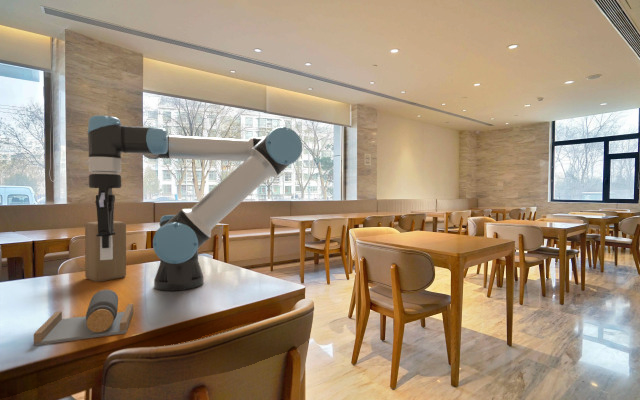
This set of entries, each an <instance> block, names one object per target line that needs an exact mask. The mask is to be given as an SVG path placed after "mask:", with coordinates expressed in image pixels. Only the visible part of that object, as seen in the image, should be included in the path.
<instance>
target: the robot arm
mask: <svg viewBox="0 0 640 400" xmlns="http://www.w3.org/2000/svg"><path fill="white" fill-rule="evenodd" d="M87 124H88V125H87V126H88V129H87V140H88V141H87V143H88V144H87V145H88V147H87V148H88V160H86V162H85V164H86V165H87V166H88V171H89V172H90V173H91V174H89V175H88V187H89V188H90V189H98V191H97V194H96V195H95V208H96V219H97V221H98V234H97V235H96V236H97V237H98V236H100V260H111V259H113V243H112V235H115V232H113V231H114V229H113V224H114V221H115V220H114V219H115V218H114V217H115V202H116V201H115V200H116V194H113V189H120V188H122V176H121V173H122V153H123V154H124V153H125V154H141V155H142V156H144V157H145V158H146V159H150V160H158V159H174V160H175V159H178V160H201V161H227V162H242V163H241V164H240V165H239V166H238V167H236V168H235V169H234V170H233V171H232V172H231V173H229V175H227V176H226V177H225V178H224V179H223V180H222V181H221V182H219V184H217V185H216V186H215V187H214V188H213V189H211V191H209V192H208V193H207V194H205V195H204V197H202V198H201V199H200V200H199V201H198V202H197V203H195V204H194V205H193V206H192V207H191V208H182V209H181V210H180V211H178V212H177V213H176V214H168V215H163V216H161V217H160V219H159V228H158V229H157V230H156V231H155V233H154V236H153V239H152V247H153V250H154V253H155V255H156V256H157V258H159V259H160V260H159V265H158V268H157V271H156V274H155V277H154V280H153V288H154V289H155V290H158V291H166V292H167V291H169V292H170V291H171V292H172V291H173V292H174V291H185V290H190V289H195V288H198V287H200V286H202V285H203V284H204V278H205V277H204V273H203V271H202V268H201V265H200V261H199V248H201V246H203V245H204V244H205V243H206V242H207V241H208V240H209V239H210V238H211V237H212V230H213V229H214V228H215V226H216V225H218V224H219V223H220V222H221V221H222V220H224V219H225V218H226V217H227V215H229V214H230V213H231V212H232V211H234V209H235V208H237V206H239V205H240V204H241V203H242V202H243V201H245V199H246V198H248V196H249V195H251V194H252V193H253V192H254V191H255V190H256V189H257V188H258V187H259V186H260V185H262V184H263V183H264V182H265V181H266V180H267V179H268V178H270V177H275V178H277V176H279V175H280V174H281V173H282V172H283V171H284V170H286V168H288V166H290V165H292V164H294V163H296V161H298V159H299V158H300V156H301V154H302V153H303V142H302V139H301V138H300V135H299V134H298V133H297V132H296V131H295V130H294V129H292V128H290V127H286V126H281V127H280V126H278V127H275V128H272V129H271V130H270V131H269V132H268V134H267V135H265V136H258V137H255V136H251V137H249V138H248V139H243V138H242V139H240V138H238V139H237V138H236V139H235V138H222V137H221V138H220V137H206V136H204V137H203V136H190V135H189V136H186V135H184V136H183V135H173V134H170V135H168V131H167V129H166V128H163V127H156V126H152V127H151V126H135V125H133V126H132V125H123V124H122V122H121V120H120V118H118V117H114V116H109V115H93V116H90V117H89V119H88V123H87Z"/></svg>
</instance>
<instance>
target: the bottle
mask: <svg viewBox="0 0 640 400" xmlns="http://www.w3.org/2000/svg"><path fill="white" fill-rule="evenodd" d="M89 301H90V302H89V305H88V307H87V310H86V314H85V316H86V320H87V327H88V328H89V329H90V330H91V331H93V332H103V331H105V330H107V329H108V328H109V327H110V326H111V325H112V323H113V321H114V319H115V318H116V315H117V313H118V310H119V309H118V307H119V306H118V305H119V297H118V294H117V292H115V291H114V290H111V289H101V290H99V291H97V292H96V293H93V296H92V297H91V299H90V300H89Z"/></svg>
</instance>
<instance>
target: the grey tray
mask: <svg viewBox="0 0 640 400" xmlns="http://www.w3.org/2000/svg"><path fill="white" fill-rule="evenodd" d="M62 313H63V312H62V311H55V312H54V313H53V314H51V316H50V317H49V318H48V319H47V320H46V321H45V322H44V323H43V324H42V325H41V326H40V327H39V328H38V329H37V330H35V332H34V333H33V346H42V345H50V344H56V343H63V342H65V343H66V342H71V341H79V340H85V339H92V338H93V339H94V338H99V337H100V338H101V337H107V336H114V335H123V334H127V332H128V329H129V326H130V324H131V321H132V317H133V315H134V303H128V304H127V306H126V307H125V311H121V312H117V315H116V318H115V319H114V321H113V323H112V325H111V326H110V327H109V328H108V329H107V330H105V331H103V332H93V331H91V330H90V329H89V328H88V327H87V320H86V315H85V316H84V315H83V316H77V317H76V316H75V317H68V318H67V317H66V318H63V317H62V316H63V315H62Z"/></svg>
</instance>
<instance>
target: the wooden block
mask: <svg viewBox="0 0 640 400" xmlns="http://www.w3.org/2000/svg"><path fill="white" fill-rule="evenodd" d="M113 229H114V231H113V232H115V235H112V243H113V259H111V260H100V236H98V237H97V236H96V235H97V234H98V220H97V221H87V222H86V223H85V225H84V260H85V261H84V265H85V266H84V270H85V271H84V277H85V278H86V279H87V280H89V281H93V282H95V283H102V282H105V281H110V280H116V279H123V278H125V277H126V276H127V224H126V222H124V221H121V220H120V221H119V220H114V224H113Z"/></svg>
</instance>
